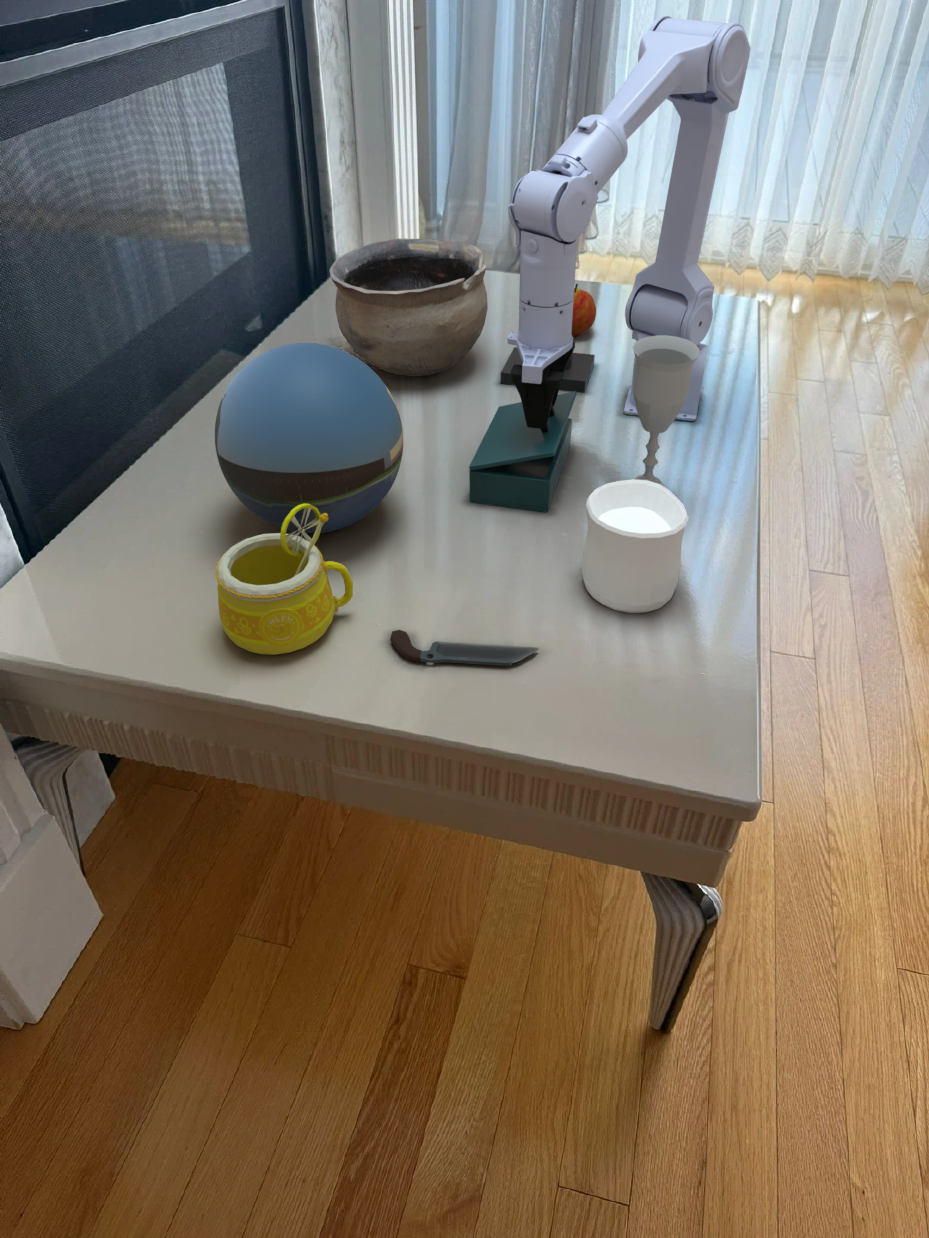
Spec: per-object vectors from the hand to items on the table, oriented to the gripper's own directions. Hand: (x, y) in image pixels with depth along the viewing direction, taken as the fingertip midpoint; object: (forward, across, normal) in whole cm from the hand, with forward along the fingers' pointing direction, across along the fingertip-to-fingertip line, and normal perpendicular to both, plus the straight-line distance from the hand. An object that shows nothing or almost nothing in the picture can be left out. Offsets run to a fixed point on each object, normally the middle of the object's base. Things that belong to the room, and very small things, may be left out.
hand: (541, 415), depth 103 cm
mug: (+8, +33, -18) cm, 39 cm away
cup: (+8, +19, +13) cm, 24 cm away
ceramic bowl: (+8, -27, -24) cm, 37 cm away
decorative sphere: (+8, +15, -22) cm, 28 cm away
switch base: (+8, -28, -4) cm, 29 cm away
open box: (+8, 0, -2) cm, 8 cm away
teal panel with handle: (+2, 0, -2) cm, 3 cm away
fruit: (+8, -43, -3) cm, 44 cm away
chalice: (+8, +2, +13) cm, 16 cm away
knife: (+8, +33, -1) cm, 34 cm away
